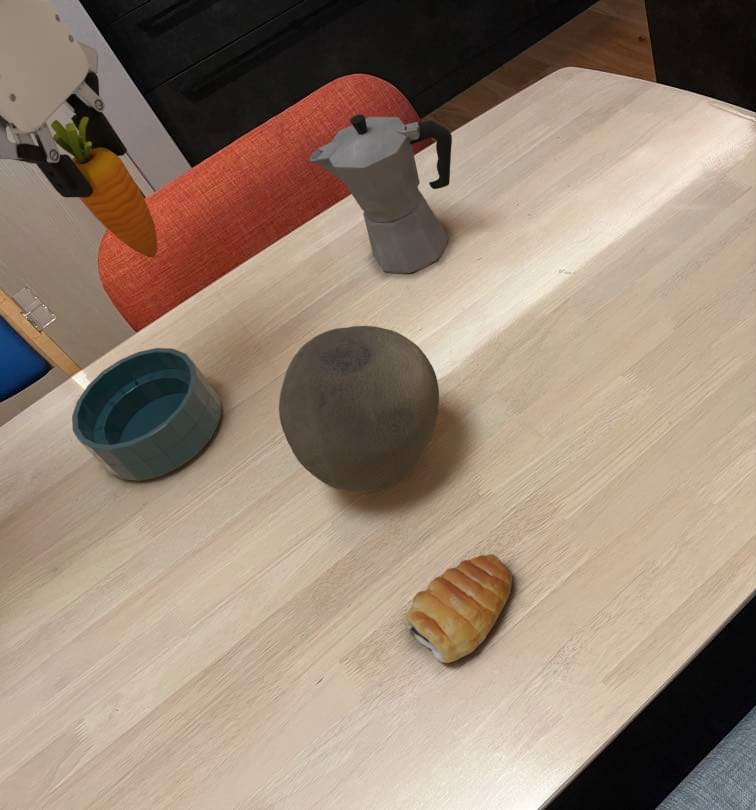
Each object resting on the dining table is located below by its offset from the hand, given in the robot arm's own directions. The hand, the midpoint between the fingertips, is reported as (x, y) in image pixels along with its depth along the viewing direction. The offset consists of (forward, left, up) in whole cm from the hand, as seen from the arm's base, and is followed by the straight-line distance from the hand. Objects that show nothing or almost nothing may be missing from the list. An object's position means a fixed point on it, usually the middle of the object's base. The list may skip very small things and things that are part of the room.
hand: (94, 172), depth 80 cm
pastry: (+34, -25, -27) cm, 50 cm away
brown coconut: (+22, -10, -27) cm, 36 cm away
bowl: (-5, -9, -27) cm, 29 cm away
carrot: (0, 0, -10) cm, 10 cm away
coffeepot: (+15, +20, -27) cm, 37 cm away
